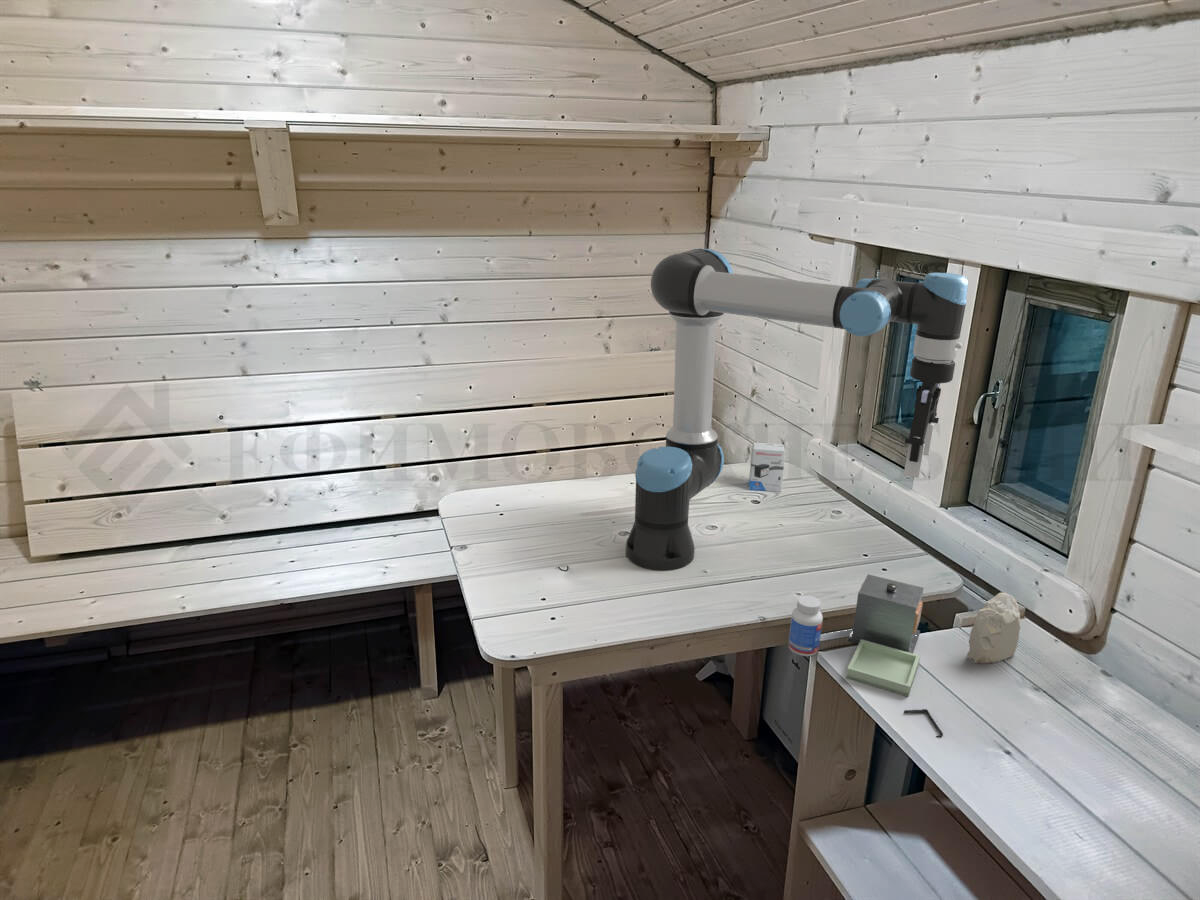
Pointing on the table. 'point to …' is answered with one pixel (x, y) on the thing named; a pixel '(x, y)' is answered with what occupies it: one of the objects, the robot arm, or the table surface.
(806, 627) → the pill bottle
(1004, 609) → the stone
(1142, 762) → the table surface
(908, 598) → the unit
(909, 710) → the l-shaped bracket
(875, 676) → the tray
